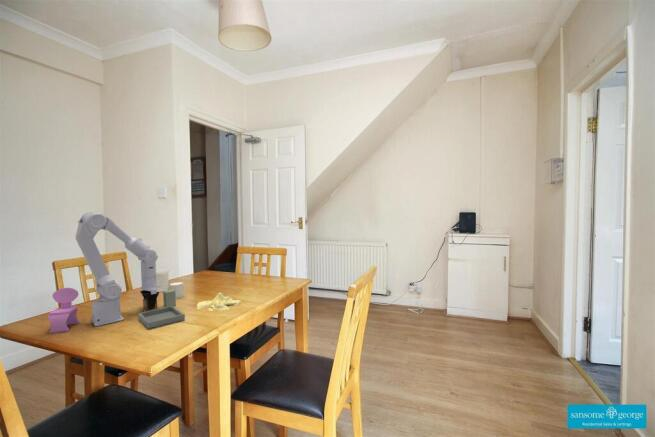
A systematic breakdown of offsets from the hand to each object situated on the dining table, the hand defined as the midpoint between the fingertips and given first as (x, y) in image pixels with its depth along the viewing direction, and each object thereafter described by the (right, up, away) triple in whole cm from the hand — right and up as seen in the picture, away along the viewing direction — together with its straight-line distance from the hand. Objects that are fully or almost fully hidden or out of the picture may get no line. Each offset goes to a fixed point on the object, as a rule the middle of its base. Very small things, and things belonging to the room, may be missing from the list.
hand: (150, 307), depth 139 cm
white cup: (-12, 0, +32) cm, 35 cm away
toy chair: (-22, -3, -19) cm, 29 cm away
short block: (0, -1, 0) cm, 1 cm away
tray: (+11, -2, -12) cm, 17 cm away
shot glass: (+3, -1, +19) cm, 19 cm away
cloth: (+29, -1, +5) cm, 30 cm away
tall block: (+6, -1, +6) cm, 8 cm away
